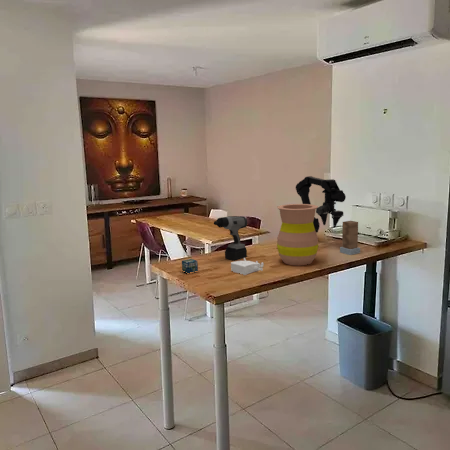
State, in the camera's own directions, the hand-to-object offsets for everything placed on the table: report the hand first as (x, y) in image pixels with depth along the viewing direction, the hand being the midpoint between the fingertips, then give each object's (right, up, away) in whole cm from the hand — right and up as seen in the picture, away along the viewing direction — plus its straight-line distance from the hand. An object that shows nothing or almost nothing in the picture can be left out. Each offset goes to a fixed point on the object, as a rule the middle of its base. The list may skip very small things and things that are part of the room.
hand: (329, 226), depth 257 cm
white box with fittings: (-51, -23, -39) cm, 68 cm away
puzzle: (-81, -24, -39) cm, 93 cm away
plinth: (+9, -15, -12) cm, 21 cm away
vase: (-24, -19, -27) cm, 41 cm away
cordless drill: (-59, -19, -18) cm, 65 cm away
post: (+9, -12, -13) cm, 20 cm away
